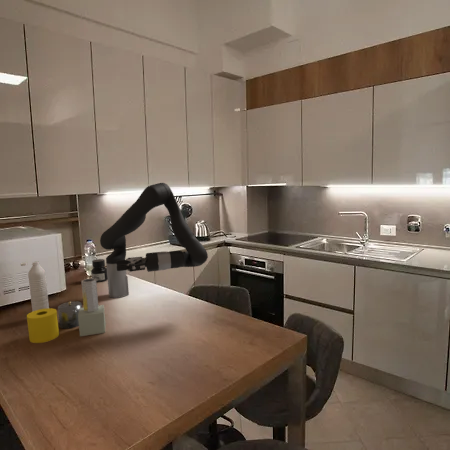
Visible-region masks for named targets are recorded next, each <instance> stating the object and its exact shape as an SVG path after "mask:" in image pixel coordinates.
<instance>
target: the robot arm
mask: <svg viewBox="0 0 450 450" xmlns="http://www.w3.org/2000/svg"><path fill="white" fill-rule="evenodd" d="M160 206H164V207H165V209H166V210H167V213H168V214H169V217H170V225H171V227H170V228H171V231H172V232H173V233H172V234H173V235H174V237H175V239H176V240H177V242H178V243H179V244H180V246H181V247H182V248H184V249H185V251H182V250H172V251H171V250H170V251H156V252H155V251H154V252H147V253H145V258H143V256H136V257H128V258H126V257H127V244H126V243H127V240H126V239H127V238H126V236H127V235H130V234H131V233H133V232H135V231H136V230H139V228H140V227H141V226H142V225H144V222H145V221H146V219H147V218H146V217H147V214H148V213H149V212H151V211H152V210H153V209H154V208H156V207H160ZM99 242H100V243H99V244H100V246H101V247H102V248H103V249H104V250H107V251H108V250H110V251H112V250H113V251H112V252H111V253H110V254H109V255H107V256H106V257H105V267H106V268H107V278H108V280H107V287H108V297H109V298H113V299H116V298H117V299H118V298H122V297H126V296H129V295H130V292H129V290H130V289H129V279H128V276H127V271H129V272H139V271H145V270H146V271H147V272H148V273H149V272H151V273H152V272H159V271H165V270H171V269H177V268H196V267H200V266H202V265H203V264H205V263H206V262H207V260H208V258H209V255H208V250H206V248H205V246H204V245H203V244H202V242H200V240H198V239H197V237H196V236H195V234H194V233H193V231H192V229H191V228H190V226H189V225H188V223H187V220H186V219H185V218H184V216H183V213H182V211H181V209H180V206H179V204H178V202H177V200H176V197H175V195H174V193H173V191H172V189H171V187H170V186H169V185H168V184H167V183H165V182H157V183H153V184H150V185H148V186H146V187H145V188H144V190H143V191H141V194H140V195H139V196H138V198H137V199H136V201H134V203H132V204H131V206H130V207H129V208H128V209H126V211H124V213H123V214H121V216H120V217H119V218H118V219H117V220H116V221H115V223H113V225H111V226H110V227H108V228H107V229H106V230H105V231H103V232H102V234H101V235H100V238H99Z"/></svg>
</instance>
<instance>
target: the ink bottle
mask: <svg viewBox="0 0 450 450" xmlns="http://www.w3.org/2000/svg"><path fill="white" fill-rule="evenodd" d="M91 262H92V269H91V271H90V273H91V278H94V279H96V283H103V282H105V281H108V278H107V266H106V259H103V258H97V259H94V260H92V261H91Z"/></svg>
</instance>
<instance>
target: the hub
mask: <svg viewBox="0 0 450 450" xmlns="http://www.w3.org/2000/svg"><path fill="white" fill-rule="evenodd" d="M80 308H83V302H81V301H76V300H75V301H68V302H64V303H61V304H59V305H58V306H57V316H58V326H59V328H61V329H74V328H77V327H78V328H79V321H78V314H79V310H80Z"/></svg>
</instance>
